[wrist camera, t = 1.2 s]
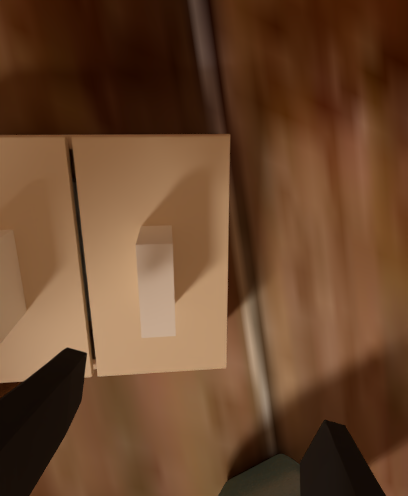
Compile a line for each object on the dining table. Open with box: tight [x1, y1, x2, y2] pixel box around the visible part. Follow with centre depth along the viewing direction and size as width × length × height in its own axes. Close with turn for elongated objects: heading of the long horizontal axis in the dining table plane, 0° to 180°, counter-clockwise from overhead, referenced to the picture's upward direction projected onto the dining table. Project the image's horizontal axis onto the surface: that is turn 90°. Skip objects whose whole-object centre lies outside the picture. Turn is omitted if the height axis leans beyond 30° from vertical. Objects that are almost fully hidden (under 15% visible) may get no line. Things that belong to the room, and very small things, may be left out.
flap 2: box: [72, 136, 230, 376], centre depth 16 cm, size 7×12×4 cm, turn 0°
